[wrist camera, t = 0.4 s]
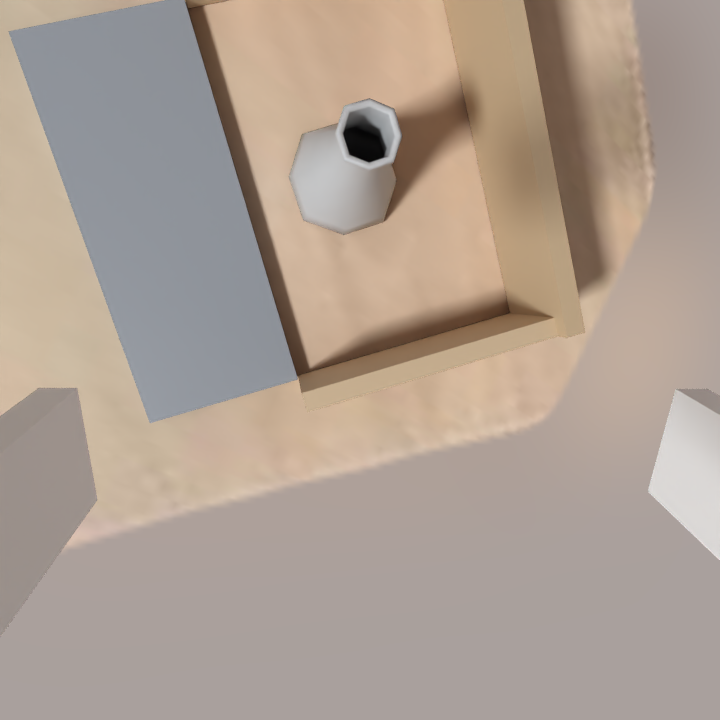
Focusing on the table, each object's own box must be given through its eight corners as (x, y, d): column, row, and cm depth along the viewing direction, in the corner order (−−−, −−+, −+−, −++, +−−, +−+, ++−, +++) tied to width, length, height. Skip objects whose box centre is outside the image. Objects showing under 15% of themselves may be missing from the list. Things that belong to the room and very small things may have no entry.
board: (17, 40, 29) (8, 31, 28) (186, 6, 30) (183, -4, 29) (153, 419, 33) (150, 423, 32) (297, 376, 34) (297, 379, 33)
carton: (151, -117, 29) (111, -243, 22) (427, -164, 31) (469, -293, 24) (302, 391, 35) (308, 416, 28) (527, 324, 37) (585, 332, 30)
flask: (287, 119, 32) (291, 45, 22) (396, 125, 33) (445, 57, 23) (289, 234, 33) (293, 210, 23) (395, 236, 34) (441, 214, 24)
